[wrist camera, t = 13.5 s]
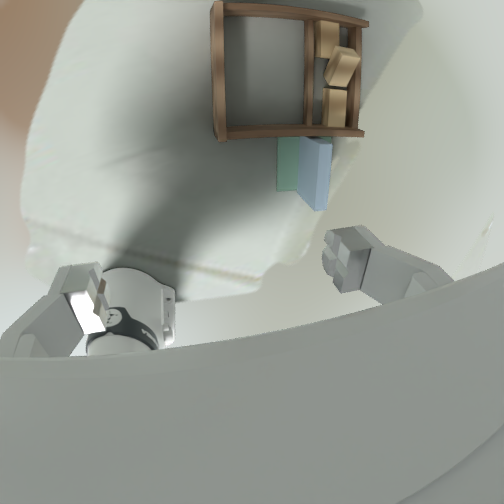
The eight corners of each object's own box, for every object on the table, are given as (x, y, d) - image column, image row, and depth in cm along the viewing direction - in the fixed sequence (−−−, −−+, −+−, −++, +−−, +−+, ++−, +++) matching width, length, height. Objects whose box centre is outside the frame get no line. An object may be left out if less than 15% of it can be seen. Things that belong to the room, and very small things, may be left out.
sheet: (308, 191, 48) (326, 209, 42) (297, 192, 47) (314, 211, 42) (311, 133, 42) (332, 144, 36) (299, 133, 42) (319, 144, 36)
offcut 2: (336, 124, 43) (344, 127, 41) (320, 123, 42) (327, 126, 40) (338, 89, 39) (347, 90, 37) (322, 87, 39) (329, 88, 37)
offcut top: (340, 77, 38) (346, 87, 37) (323, 75, 37) (328, 85, 36) (353, 49, 32) (360, 58, 31) (335, 45, 32) (342, 54, 31)
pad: (326, 186, 48) (327, 187, 48) (276, 190, 47) (277, 191, 46) (330, 136, 43) (331, 136, 43) (277, 136, 42) (278, 137, 41)
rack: (349, 131, 43) (367, 138, 39) (214, 134, 39) (219, 142, 35) (352, 24, 33) (372, 20, 28) (209, 10, 29) (214, 1, 24)
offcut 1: (331, 59, 36) (339, 59, 34) (313, 57, 36) (321, 56, 34) (331, 25, 33) (339, 23, 31) (313, 22, 32) (320, 20, 30)
